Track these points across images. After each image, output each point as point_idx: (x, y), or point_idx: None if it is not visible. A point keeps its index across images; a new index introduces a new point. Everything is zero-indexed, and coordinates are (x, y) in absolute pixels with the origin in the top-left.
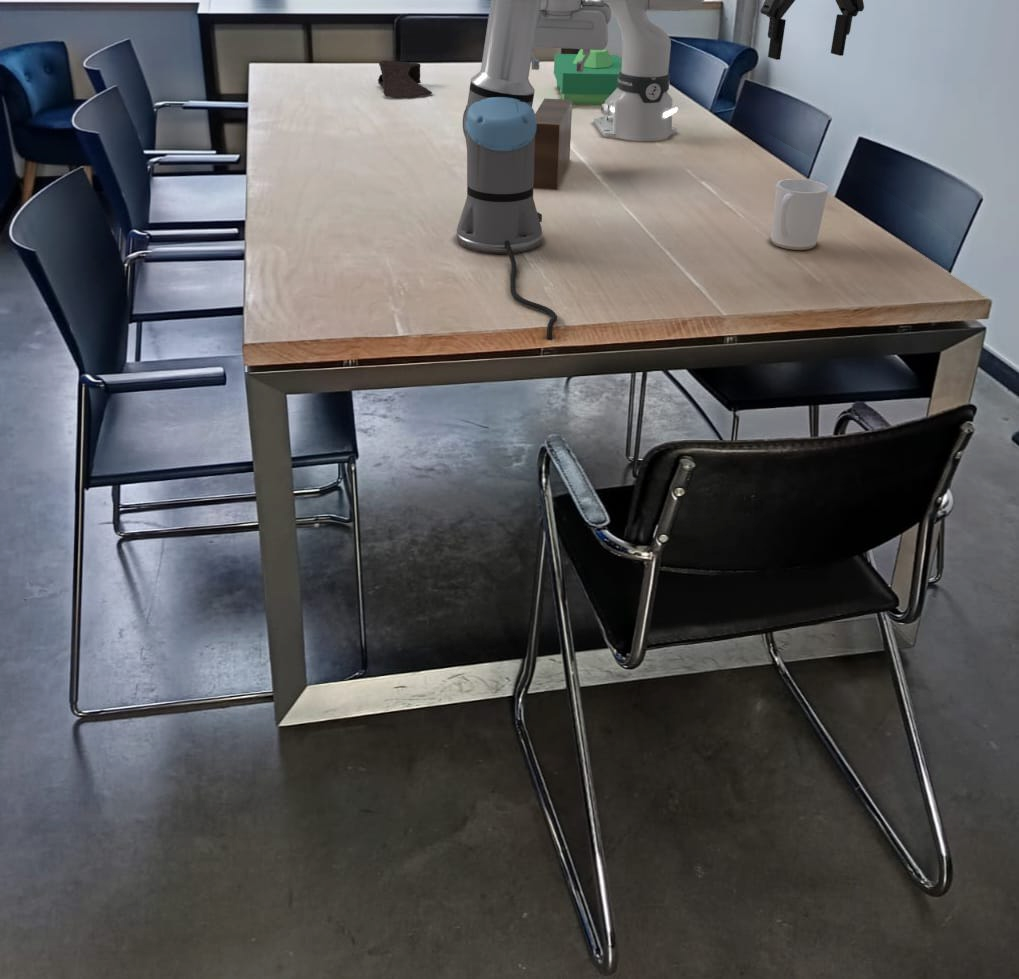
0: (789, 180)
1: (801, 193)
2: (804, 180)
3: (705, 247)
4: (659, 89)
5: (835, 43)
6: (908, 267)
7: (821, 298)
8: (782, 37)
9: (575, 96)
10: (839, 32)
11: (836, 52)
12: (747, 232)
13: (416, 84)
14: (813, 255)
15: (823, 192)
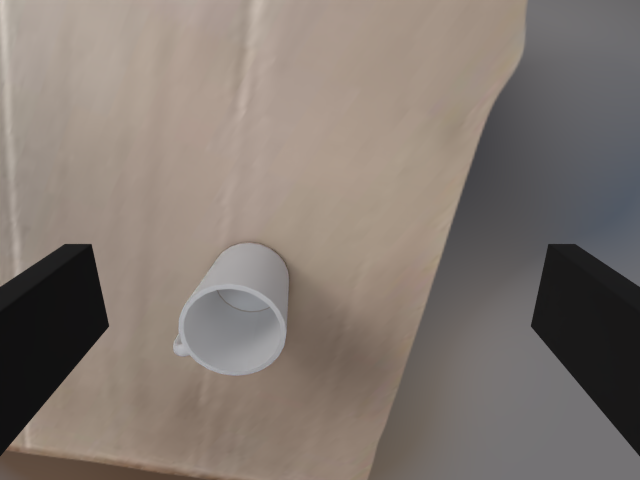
0: (230, 287)
1: (204, 365)
2: (262, 299)
3: (92, 242)
4: None
5: (578, 304)
6: (356, 402)
7: (172, 444)
8: (26, 415)
9: None
10: (624, 376)
11: (545, 300)
12: (203, 199)
13: None
14: None
15: (252, 371)
